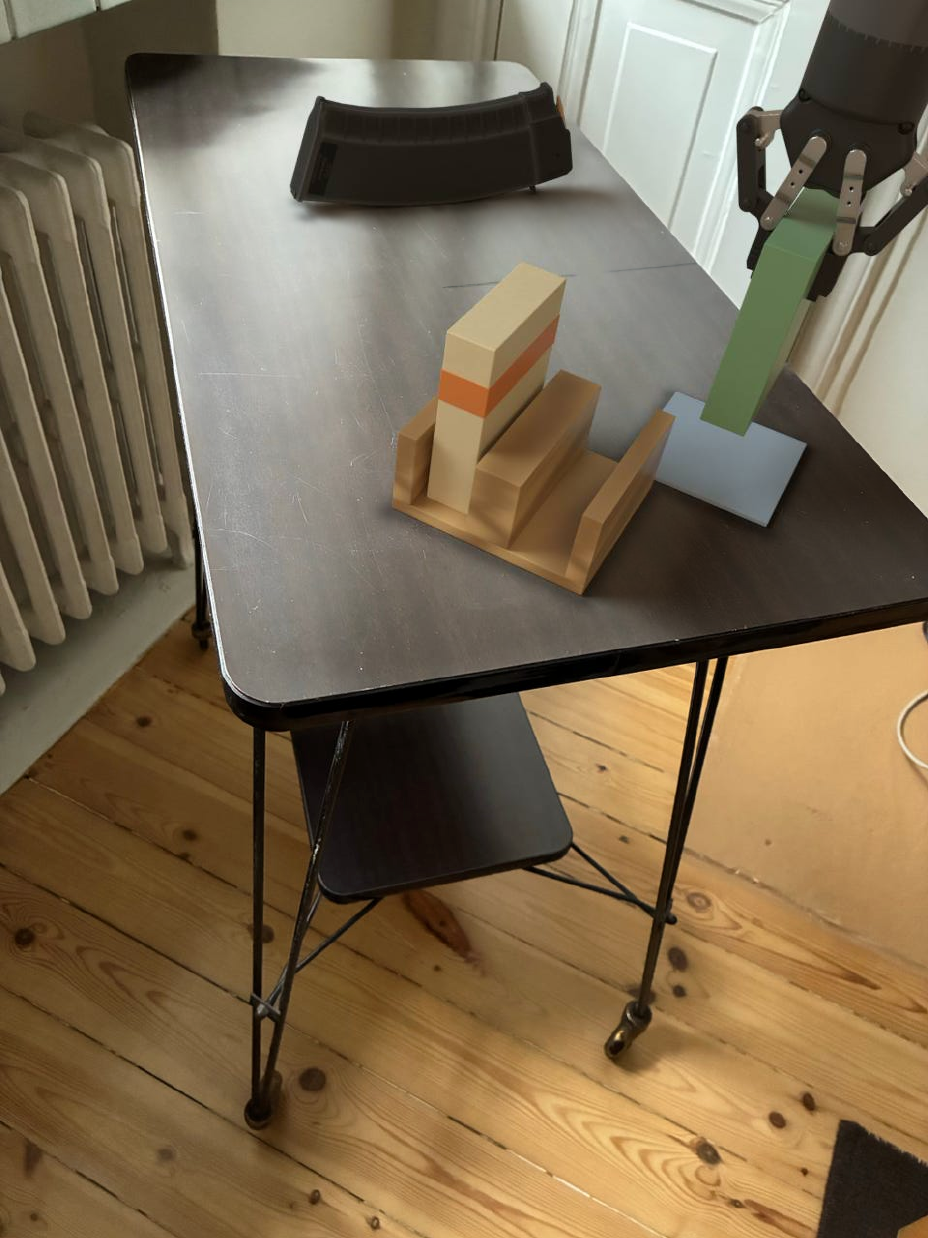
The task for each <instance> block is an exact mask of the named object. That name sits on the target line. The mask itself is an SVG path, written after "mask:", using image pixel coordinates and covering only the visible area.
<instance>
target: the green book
mask: <svg viewBox="0 0 928 1238" xmlns="http://www.w3.org/2000/svg"><path fill="white" fill-rule="evenodd" d="M838 205H839V199H838V198H835V197H833V196H831V195H830V194H828V193H827V192H825V191H824V190H817V189H808V188H805V187H803V188H802V190H801V191H800V193H799V194H798V196H797V197H796V199H795V200H794V202H793V203H792V205H791V206H790V208H789V209H788V211H787V212H786V214H785V216H784V217H783V218H782V220H781V221H780V223H779V224H778V225H777V227H776V228H775V230H774V231H773V232H772V234H771V235H770V237H769V238H768V239H767V241H766V242H765V244H764V246H763V249H762V252H761V254H760V257H759V260H758V263H757V265H756V268H755V271H754V273H753V276H752V279H750V281H749V284H748V287H747V290H746V292H745V295H744V298H743V301H742V303H741V306H740V308H739V311H738V314H737V317H736V320H735V321H734V325H733V327H732V330H731V333H730V336H729V339H728V341H727V344H726V346H725V349H724V351H723V355H722V357H721V360H720V363H719V365H718V367H717V370H716V374H715V376H714V378H713V381H712V383H711V387H710V389H709V392H708V394H707V398H706V400H705V402H704V403H705V405H704V408H703V411H702V414H701V416H700V420H703V421H705V422H708V423H710V424H713V425H715V426H718V427H720V428H722V429H725V430H727V431H730V432H732V433H735V434H737V435H740V436H742V437H744V435H745V434H746V432H747V430H748V428H749V427H750V425H751V423H752V422H754V419H755V418H756V416H757V414H758V412H759V411H760V409H761V407H762V405H763V404H764V402H765V401H766V399H767V397H768V395H769V394H770V392H771V390H772V388H773V386H774V385H775V383H776V381H777V379H778V377H779V376H780V374H781V372H782V370H783V368H784V367H785V364H786V362H787V360H788V357H789V355H790V352H791V350H792V348H793V346H794V343H795V341H796V339H797V337H798V334H799V331H800V330H801V327H802V324H803V323H804V320H805V318H806V315H807V313H808V311H809V308H810V306H811V304H812V301H810V300H807V296H808V294H809V291H810V289H811V287H812V284H813V282H814V280H815V277H816V275H817V273H818V270H819V268H820V266H821V263H822V261H823V258H824V256H825V254H826V252H827V250H828V248H829V247H830V245H831V243H832V242H833V240H834V234H835V229H836V223H837V220H836V216H837V210H838Z"/></svg>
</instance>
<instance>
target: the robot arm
mask: <svg viewBox="0 0 928 1238" xmlns="http://www.w3.org/2000/svg"><path fill="white" fill-rule="evenodd" d="M927 107H928V0H829V3H828V6H827V9H826V11H825V14H824V17H823V20H822V23H821V25H820V28H819V30H818V33H817V37H816V40H815V42H814V45H813V48H812V51H811V53H810V57H809V59H808V62H807V65H806V68H805V71H804V73H803V76H802V79H801V82H800V85H799V88H798V89H797V92H796V94H795V95H794V97H793V98H792V99H791V100H790V101H788V104H786V106H785V107H784V108H783V109H773V110H765V109H764V108H762V106H758V105H754V106H752V107H750V108H749V110H747V112H745V113H744V115H743V116H742V117H741V118H740V119H739V120H738V121H737V123H736V126H735V132H736V133H735V137H736V139H735V140H736V169H737V170H736V171H737V203H738V207H739V210H740V211H742V212H744V213H750V215H751V216H753V217H754V218H755V219H756V221H757V223H758V226H757V230H756V233H755V236H754V238H753V242H752V244H751V247H750V250H749V252H748V255H747V258H746V261H745V262H746V269H747V270H750V271H751V274H750V277H749V279H750V280H751V279H752V276H753V273H754V271H755V268H756V265H757V263H758V260H759V257H760V254H761V252H762V249H763V246H764V244H765V242H766V241H767V239H768V238H769V237H770V235H771V234H772V232H773V231H774V230H775V228H776V227H777V225H778V224H779V223H780V221H781V220H782V218H783V217H784V216H785V214H786V213H787V211H788V210H789V209H790V207H791V206H792V204H793V203H794V202H795V200H796V199H797V197H798V196H799V195H800V193H801V192H802V190H803V189H804V188H808V189H817V190H824V191H825V192H827V193H828V194H830V195H831V196H833V197H835V198H838V199H839V205H838V210H837V216H836V220H837V223H836V229H835V234H834V240H833V242H832V243H831V245H830V247H829V248H828V250H827V252H826V254H825V256H824V258H823V261H822V263H821V266H820V268H819V270H818V273H817V275H816V277H815V280H814V282H813V284H812V287H811V289H810V291H809V294H808V296H807V300H810V301H811V303H817V301H818V299H819V298H820V296H821V297H824V298H827V297H828V296H829V295H830V294H831V293H832V292H833V290H834V288H835V286H836V285H837V283H838V281H839V279H840V276H841V274H842V272H843V270H844V266H845V265H846V263H847V261H848V258H849V256H851V255H853V254H864V255H866V256H868V257H875V256H877V255H879V254H880V253H881V252H882V251H883V250H884V249H885V248H886V247H887V246H888V245H889V244H890V243H891V242H892V241H893V240H894V239H895V238H896V237H897V236H898V235H899V234H901V232H902V231H903V230H904V229H905V228H906V227H907V226H908V225H909V224H910V223H911V222H912V221H913V220H914V219H915V218H916V217H917V216H919V214H920V213H921V212H922V211H923V210H924V209H925V208H926V207H927V206H928V160H927V159H925V158H924V157H923V156H922V155H921V154H920V153H919V152H917V149H918V128H919V125H920V122H921V120H922V118H923V116H924V113H925V111H926V109H927ZM778 130H780V133H781V136H782V140H783V143H784V149H785V152H786V155H787V159H788V163H789V167H790V170H789V172H788V173H787V175H786V177H785V178H784V180H783V182H782V183H781V185H780V186H779V188H778V189H777V191H776V192H775V195H773V194H772V193H770V191H768V190H767V148H768V147H769V146H770V144H771V143H773V141H774V139H775V135H776V131H778ZM900 170H903V172H904V179H903V181H902V182H901V185H900V186H899V193H900V195H901V197H900V199H899V200H897V201H896V203H895V204H894V205H892V207H891V208H890V209H889V210H888V211H886V213H885V214H884V215H883V216H882V217H881V218H880V219H879V220H878V221H877V222H876V223H875V224H874V225H873V226H869V225H868V226H866V225H865V226H862V221H863V216H864V211H865V208H866V205H867V201H868V197H869V193H870V192H869V191H870V190H872V189H873V188H874V187H876V186H878V185H879V184H881V183H883V182H884V181H885V180H887V179H888V178H890V177H891V176H893V175H895V174H896V173H898V172H899V171H900Z"/></svg>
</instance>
